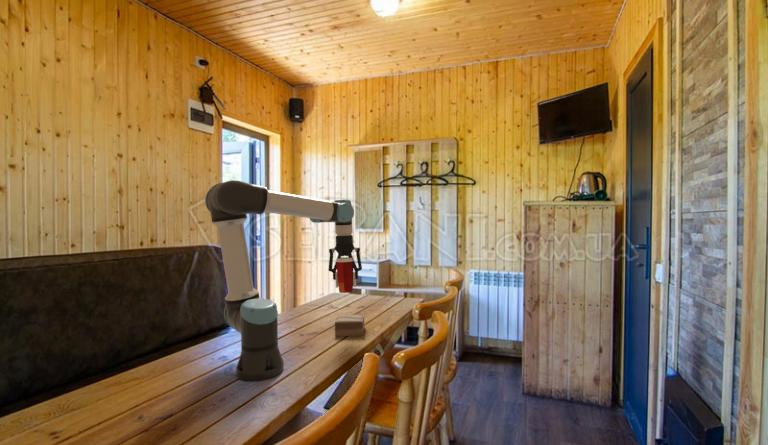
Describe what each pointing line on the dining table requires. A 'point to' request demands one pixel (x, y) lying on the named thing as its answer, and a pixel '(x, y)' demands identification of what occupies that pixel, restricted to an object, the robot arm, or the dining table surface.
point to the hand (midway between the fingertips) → (346, 286)
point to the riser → (349, 325)
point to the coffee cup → (345, 274)
